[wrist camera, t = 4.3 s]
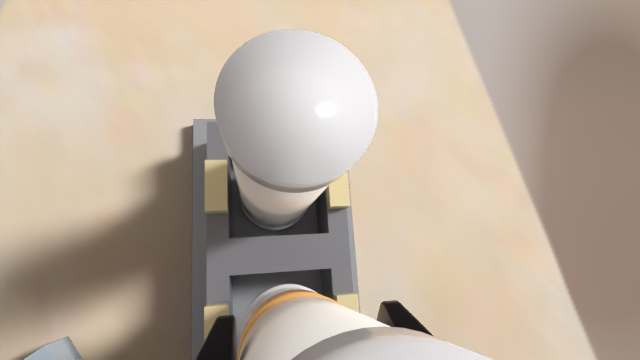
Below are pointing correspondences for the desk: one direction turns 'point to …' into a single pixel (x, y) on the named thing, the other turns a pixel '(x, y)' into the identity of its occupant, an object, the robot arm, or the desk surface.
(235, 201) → the block
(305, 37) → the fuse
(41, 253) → the desk surface
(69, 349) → the tray
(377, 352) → the white round-topped piece
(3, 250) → the desk surface
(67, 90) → the desk surface
